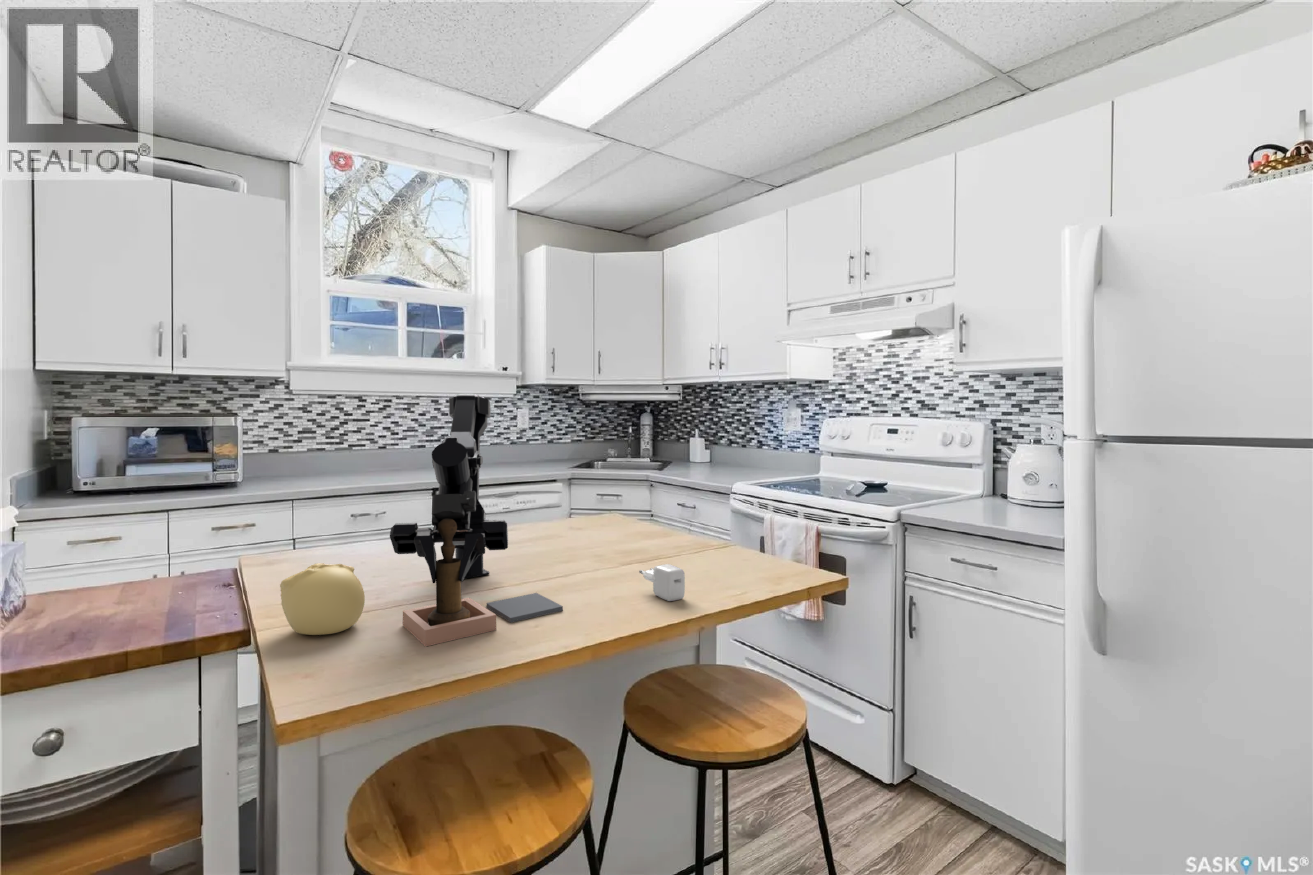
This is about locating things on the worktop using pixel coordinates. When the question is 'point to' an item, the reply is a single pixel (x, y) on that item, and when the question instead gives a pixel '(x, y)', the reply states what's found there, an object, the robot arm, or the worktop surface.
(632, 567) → the worktop surface
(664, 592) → the power adapter
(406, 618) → the tray
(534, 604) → the mat
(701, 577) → the worktop surface
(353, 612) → the pale yellow round lump
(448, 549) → the mortar and pestle
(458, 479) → the robot arm
